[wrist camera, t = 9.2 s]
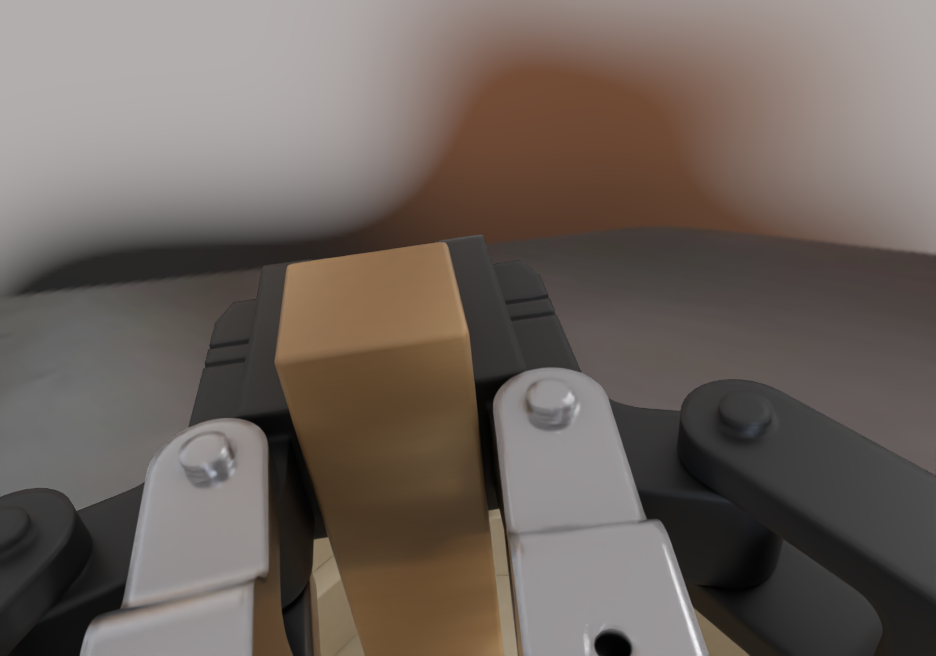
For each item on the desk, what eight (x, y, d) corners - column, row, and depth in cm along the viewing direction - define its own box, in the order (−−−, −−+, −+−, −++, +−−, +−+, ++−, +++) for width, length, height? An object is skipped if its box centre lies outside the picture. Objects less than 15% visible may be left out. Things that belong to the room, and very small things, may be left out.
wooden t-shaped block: (570, 744, 17) (561, 214, 9) (598, 861, 15) (619, 319, 7) (360, 784, 17) (164, 271, 9) (363, 908, 15) (113, 397, 7)
